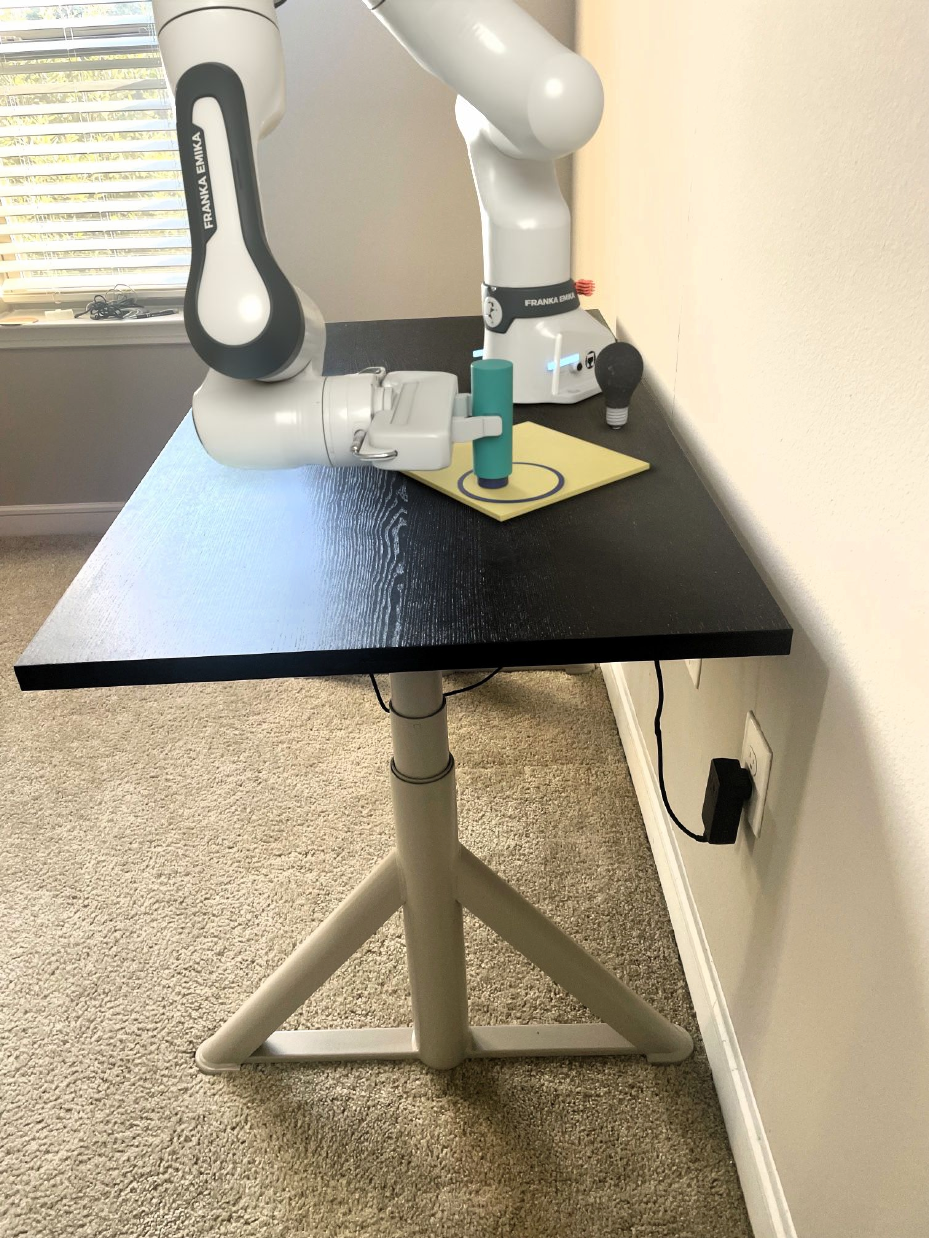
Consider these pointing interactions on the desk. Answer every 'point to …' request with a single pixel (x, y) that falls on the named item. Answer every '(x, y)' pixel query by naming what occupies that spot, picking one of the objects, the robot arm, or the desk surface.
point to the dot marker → (493, 397)
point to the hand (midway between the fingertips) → (502, 415)
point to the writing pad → (532, 472)
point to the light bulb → (618, 379)
